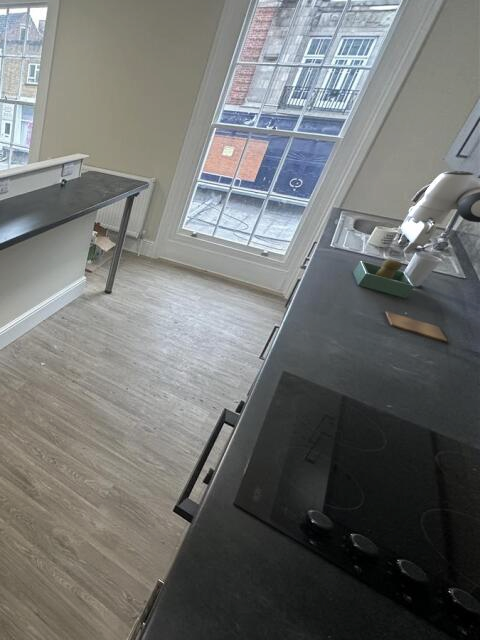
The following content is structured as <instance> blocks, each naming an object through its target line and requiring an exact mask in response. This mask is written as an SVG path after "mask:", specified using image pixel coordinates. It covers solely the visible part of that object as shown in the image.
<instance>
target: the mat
mask: <svg viewBox="0 0 480 640" xmlns="http://www.w3.org/2000/svg"><path fill="white" fill-rule="evenodd" d="M384 313H385V315H386V318H387V321H388V322H389V324H390V326H392V327H395V328H398V329H401V330H405V331H407V332H411V333H415V334H418V335H421V336H425V337H428V338H431V339H435V340H436V341H437V340H438V341H441V342H444V343H447V342H448V339H447V338H446V335H444V333H443V331H442V330H441V328H440V326H438V325H434V324H431V323H428V322H424V321H420V320H418V319H414V318H410V317H407V316H404V315H401V314H396V313H393V312H390V311H385V312H384Z"/></svg>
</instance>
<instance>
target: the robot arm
mask: <svg viewBox="0 0 480 640" xmlns="http://www.w3.org/2000/svg"><path fill="white" fill-rule="evenodd" d="M416 203H417V204H416V205H415V206H413V205H412V206H411V207H410V208H409V210H408V214H407V215H406V217H405V219H404V220H403V222H402V224H401V226H400V231H401V232H402V234H401V236H400V238H399V239H398V241H397V244H398V246H402V247H403V246H404V249H403V250H402V251H403V253H405V254H411V253H412V252H413V250H415V249H416V248H417V247H425V246H426V245H427V244H428V243H429V241H430V240H431V239H432V237H433V235H435V232H436V230H437V226H436V225H441V224H442V223H443V222H444V220H445V219H447V216H449V214H450V213H451V212H452V210H456V211H457V213H458V215H459V216H460V217H461V218H462V219H463V220H465V221H468V222H472V223H480V179H479V178H478V177H477V176H476V174H474V172H469V171H465V170H447V171H444V172H443V173H441V174H439V175H438V176H437V177H436V178H435V179H434V180H433V181H432V183H431V184H430V185H429V186H428V187H427V189H426V190H425V192H424V195H423V197H422V198H421V200H419V201H418V202H416ZM407 241H409V243H408V245H407V246H406V244H407Z"/></svg>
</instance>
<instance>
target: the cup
mask: <svg viewBox="0 0 480 640" xmlns="http://www.w3.org/2000/svg"><path fill="white" fill-rule="evenodd" d="M442 262H443V259H441V258H440V257H437V256H435V255H432V254H429V253H425V252H414V254H413V256H412V258H411V259H410V261H409V263H408V264H407V266H406V268H405V269H404V271H403V272H406V273H407V275H408V276H409V278H410V280H411V281H412V283H413V284H414V286H415V287H420V286H421V284H422V283H423V282H424V281H425V280H426V279H427V278H428V277H429V276H430V274H431V273H432V272H434V270H435V269H436V268H438V266H439V265H440V264H441V263H442Z"/></svg>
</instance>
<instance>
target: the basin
mask: <svg viewBox="0 0 480 640" xmlns="http://www.w3.org/2000/svg"><path fill="white" fill-rule="evenodd" d="M382 267H383V265H379V264H375V263H371V262H368V261H363V260H359V263H358V264H357V265H356V267H355V268H354V270H353V272H352V273H353V275H354V278H355V281H356V284H357V286H360V287H362V288H363V287H364V288H367V289H369V290H374V291H378V292H382V293H386V294H389V295H392V296H396V297H400V298H403V299H406V298H407V297H408V296H409V294H411V292H412V290H414V288H415V287H416V286H414V284H413V283H412V281H411V280H410V278H409V276H408V275H407V273H406V272H404V271H403V270H400V269H398V270H396V272H395V274H394V276H393V278H392V279H388V278H384V277H380V276H377V275H375V274H376V273H377V272H378V271H379V270H380V269H381V268H382Z"/></svg>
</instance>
